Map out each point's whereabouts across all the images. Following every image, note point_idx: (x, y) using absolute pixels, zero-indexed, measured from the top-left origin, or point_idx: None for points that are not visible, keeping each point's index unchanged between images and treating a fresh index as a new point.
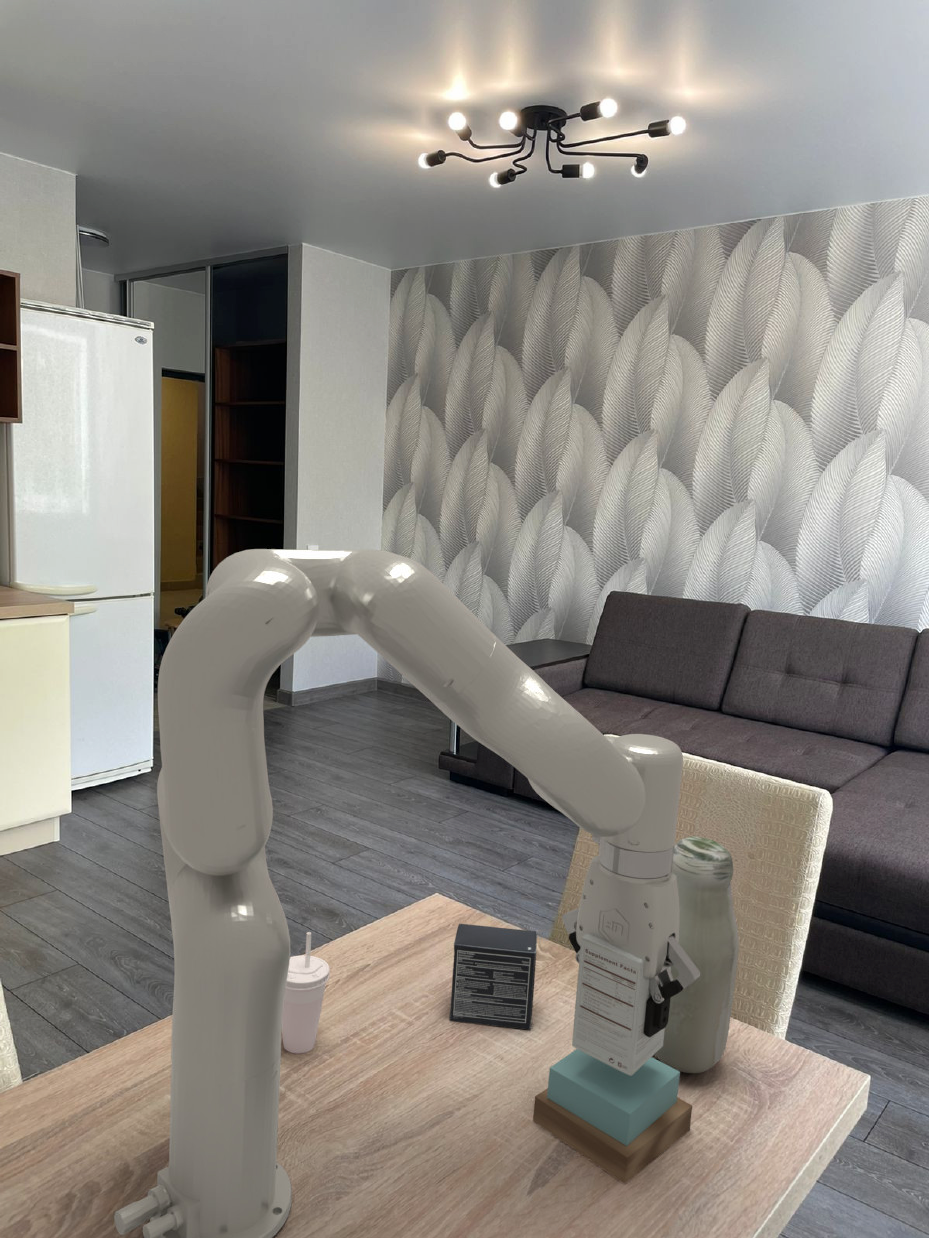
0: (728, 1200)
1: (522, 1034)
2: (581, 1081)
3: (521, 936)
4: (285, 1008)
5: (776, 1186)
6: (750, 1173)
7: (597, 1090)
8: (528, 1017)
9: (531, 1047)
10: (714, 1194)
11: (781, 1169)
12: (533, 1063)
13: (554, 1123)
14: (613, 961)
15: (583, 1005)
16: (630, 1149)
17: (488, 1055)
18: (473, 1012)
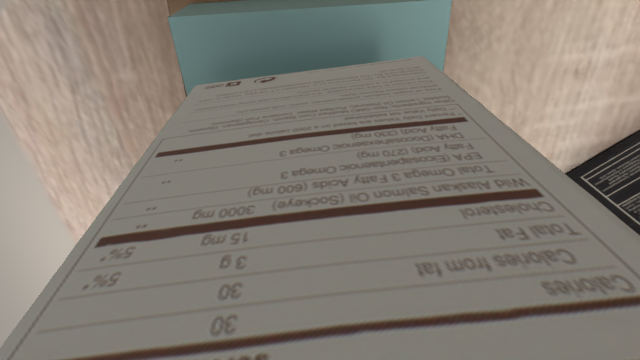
0: (54, 94)
1: (570, 157)
2: (348, 24)
3: None
4: None
5: (49, 179)
6: (91, 173)
7: (293, 29)
8: (583, 186)
9: (539, 142)
10: (76, 87)
11: (77, 213)
12: (514, 110)
13: None
14: None
15: (449, 124)
16: (179, 2)
17: (605, 57)
18: None
